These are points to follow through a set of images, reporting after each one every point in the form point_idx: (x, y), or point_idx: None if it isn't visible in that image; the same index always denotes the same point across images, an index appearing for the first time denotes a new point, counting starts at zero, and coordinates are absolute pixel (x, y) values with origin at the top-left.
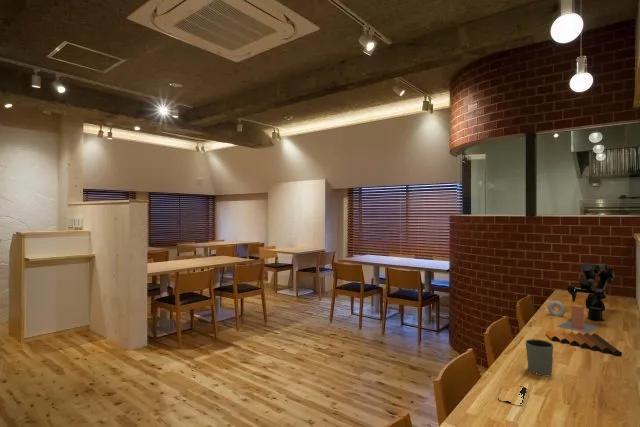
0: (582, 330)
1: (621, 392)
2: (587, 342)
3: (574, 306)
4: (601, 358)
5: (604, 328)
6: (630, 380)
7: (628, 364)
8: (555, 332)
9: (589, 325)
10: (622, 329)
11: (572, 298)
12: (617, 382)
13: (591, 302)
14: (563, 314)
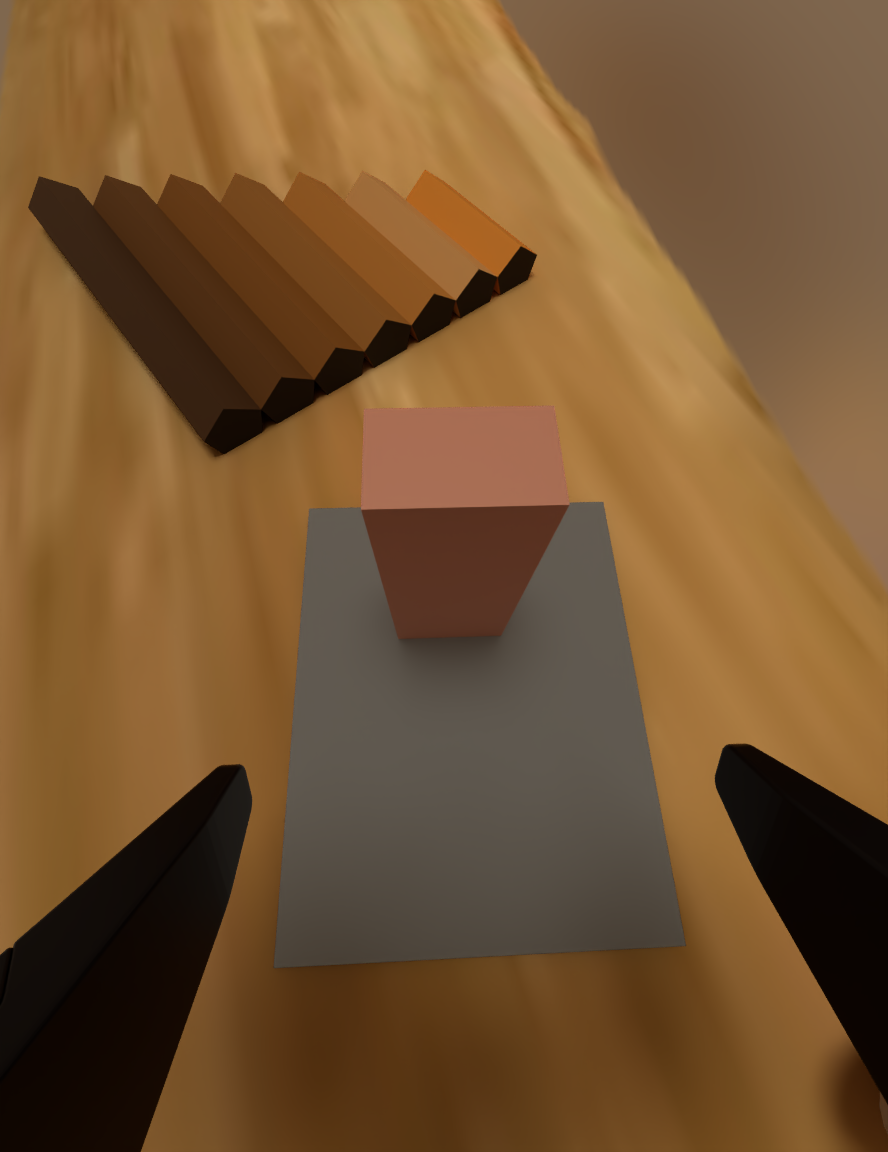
0: None
1: None
2: (235, 225)
3: (496, 416)
4: (145, 147)
5: (235, 923)
6: (22, 35)
7: (19, 155)
8: (474, 261)
9: (396, 849)
10: None
11: (837, 795)
12: (67, 4)
13: (212, 796)
14: (880, 1097)
